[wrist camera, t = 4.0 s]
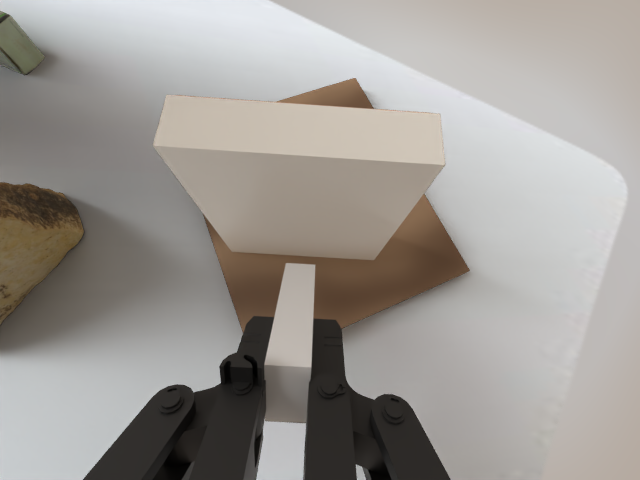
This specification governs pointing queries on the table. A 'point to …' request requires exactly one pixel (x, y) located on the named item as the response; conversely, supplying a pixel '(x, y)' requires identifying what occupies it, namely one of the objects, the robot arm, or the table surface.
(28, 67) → the medication box
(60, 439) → the table surface
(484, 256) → the table surface
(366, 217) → the tile
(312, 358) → the robot arm
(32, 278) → the rock
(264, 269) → the board
